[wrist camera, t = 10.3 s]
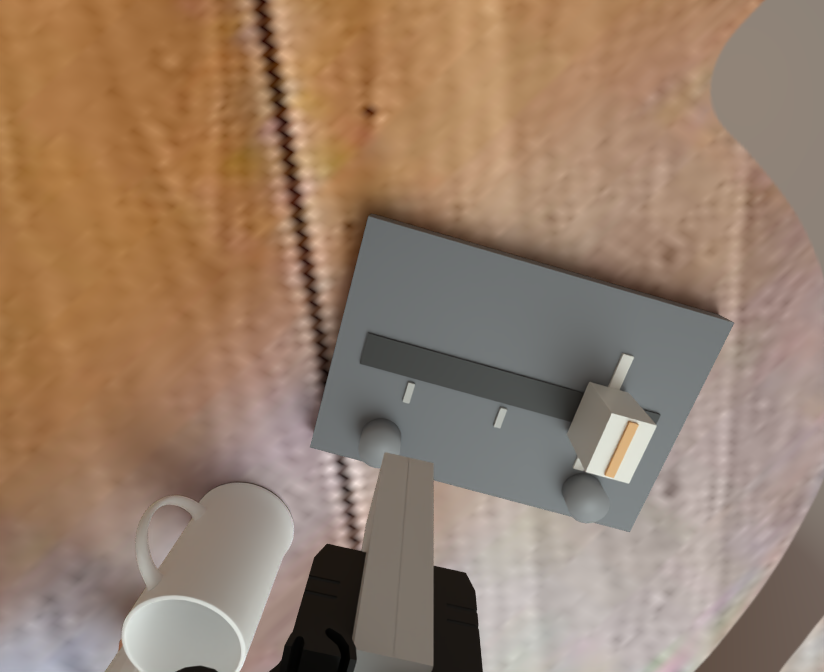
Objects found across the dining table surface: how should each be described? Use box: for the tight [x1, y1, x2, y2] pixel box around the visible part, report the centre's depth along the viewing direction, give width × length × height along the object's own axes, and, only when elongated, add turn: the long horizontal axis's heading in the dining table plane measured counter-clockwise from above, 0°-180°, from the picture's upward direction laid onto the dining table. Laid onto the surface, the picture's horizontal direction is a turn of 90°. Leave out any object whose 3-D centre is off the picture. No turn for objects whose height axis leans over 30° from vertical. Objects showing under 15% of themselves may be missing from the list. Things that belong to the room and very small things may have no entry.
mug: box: [121, 483, 294, 672], centre depth 39 cm, size 12×8×12 cm
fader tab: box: [567, 382, 657, 484], centre depth 36 cm, size 4×3×5 cm
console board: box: [310, 213, 734, 532], centre depth 39 cm, size 18×26×4 cm
